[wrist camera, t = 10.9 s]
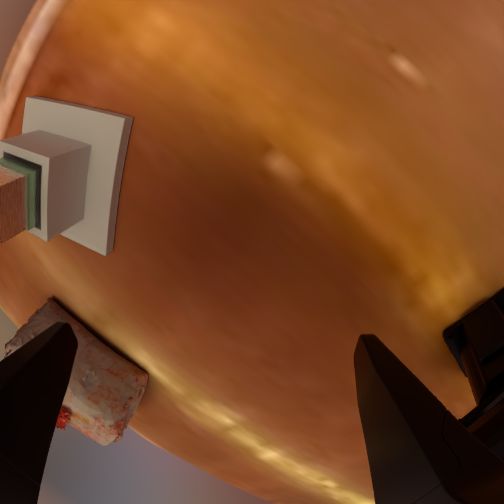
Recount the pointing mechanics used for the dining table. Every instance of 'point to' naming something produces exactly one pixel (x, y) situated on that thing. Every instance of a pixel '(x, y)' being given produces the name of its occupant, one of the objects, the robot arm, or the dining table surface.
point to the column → (17, 198)
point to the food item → (90, 379)
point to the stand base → (73, 168)
